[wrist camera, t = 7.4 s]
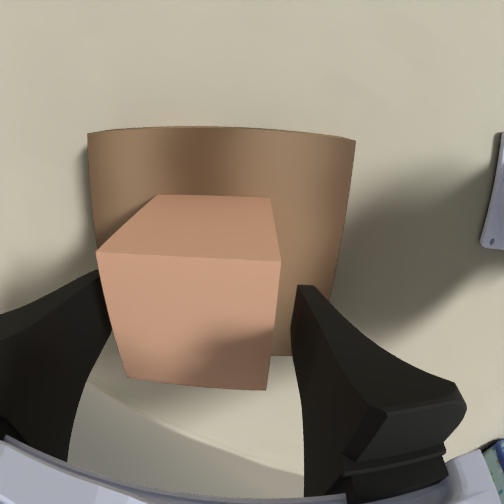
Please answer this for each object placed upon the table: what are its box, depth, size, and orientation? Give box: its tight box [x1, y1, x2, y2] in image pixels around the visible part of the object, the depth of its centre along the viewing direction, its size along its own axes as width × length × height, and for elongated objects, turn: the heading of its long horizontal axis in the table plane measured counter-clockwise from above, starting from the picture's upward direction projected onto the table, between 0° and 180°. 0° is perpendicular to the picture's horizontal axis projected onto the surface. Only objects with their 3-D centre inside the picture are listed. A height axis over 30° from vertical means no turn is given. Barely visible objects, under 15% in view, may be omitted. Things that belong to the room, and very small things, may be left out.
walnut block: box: [87, 126, 356, 356], centre depth 16 cm, size 12×12×3 cm
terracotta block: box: [96, 195, 281, 390], centre depth 11 cm, size 5×5×6 cm
